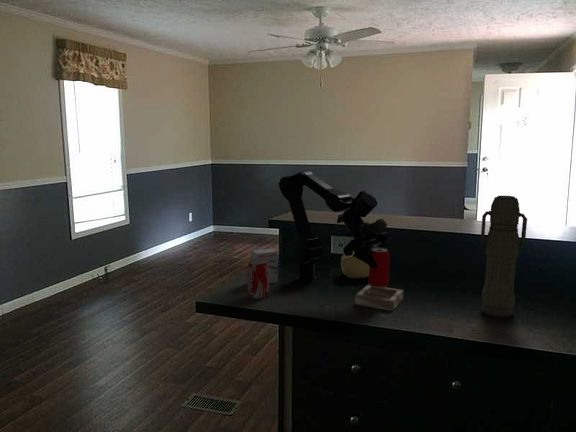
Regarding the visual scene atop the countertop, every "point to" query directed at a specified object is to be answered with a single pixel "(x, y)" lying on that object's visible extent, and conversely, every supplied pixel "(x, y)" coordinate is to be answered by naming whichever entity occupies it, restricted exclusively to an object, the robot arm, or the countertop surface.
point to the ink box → (268, 261)
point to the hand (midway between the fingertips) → (382, 265)
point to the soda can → (257, 278)
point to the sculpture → (354, 267)
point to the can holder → (379, 297)
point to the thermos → (501, 255)
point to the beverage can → (379, 268)
